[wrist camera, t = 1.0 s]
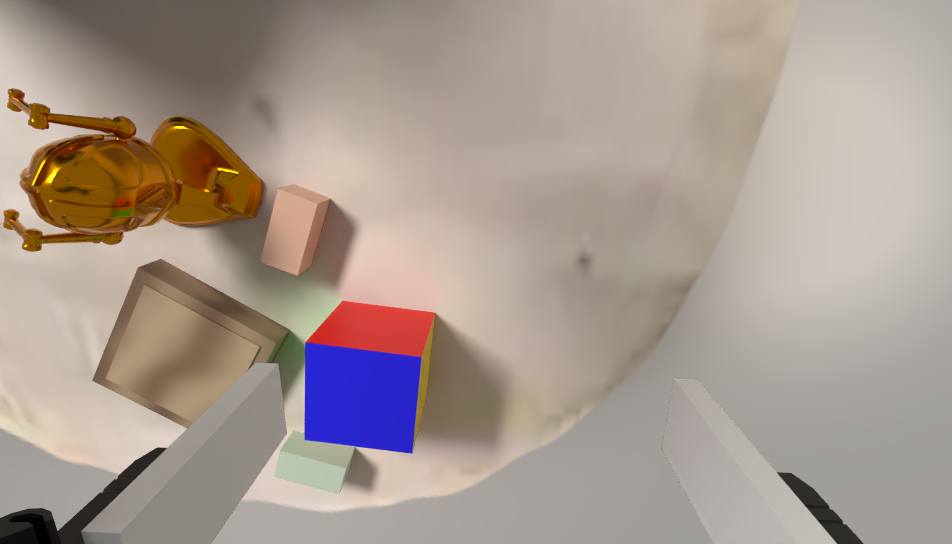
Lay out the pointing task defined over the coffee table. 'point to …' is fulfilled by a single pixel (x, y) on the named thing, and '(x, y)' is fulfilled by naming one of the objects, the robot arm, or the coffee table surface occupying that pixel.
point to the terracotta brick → (294, 229)
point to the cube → (368, 376)
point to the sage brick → (314, 463)
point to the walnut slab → (182, 343)
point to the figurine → (129, 178)
